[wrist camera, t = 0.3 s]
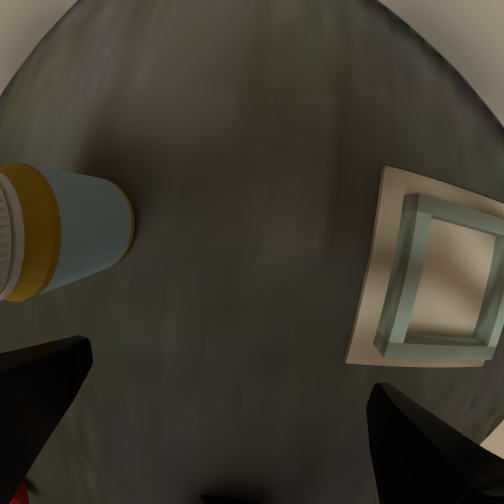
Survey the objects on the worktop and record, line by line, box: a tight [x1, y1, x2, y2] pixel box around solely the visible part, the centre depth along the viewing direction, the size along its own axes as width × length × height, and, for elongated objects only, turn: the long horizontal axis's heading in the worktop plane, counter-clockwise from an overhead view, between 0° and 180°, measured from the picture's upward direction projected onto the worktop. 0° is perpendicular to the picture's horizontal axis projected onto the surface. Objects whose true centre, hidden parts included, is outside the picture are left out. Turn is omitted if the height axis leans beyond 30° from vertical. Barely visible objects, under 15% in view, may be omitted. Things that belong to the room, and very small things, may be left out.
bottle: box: [0, 163, 135, 302], centre depth 15 cm, size 7×7×15 cm
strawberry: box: [10, 481, 29, 504], centre depth 23 cm, size 6×8×10 cm
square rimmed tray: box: [344, 165, 504, 367], centre depth 20 cm, size 15×15×3 cm
